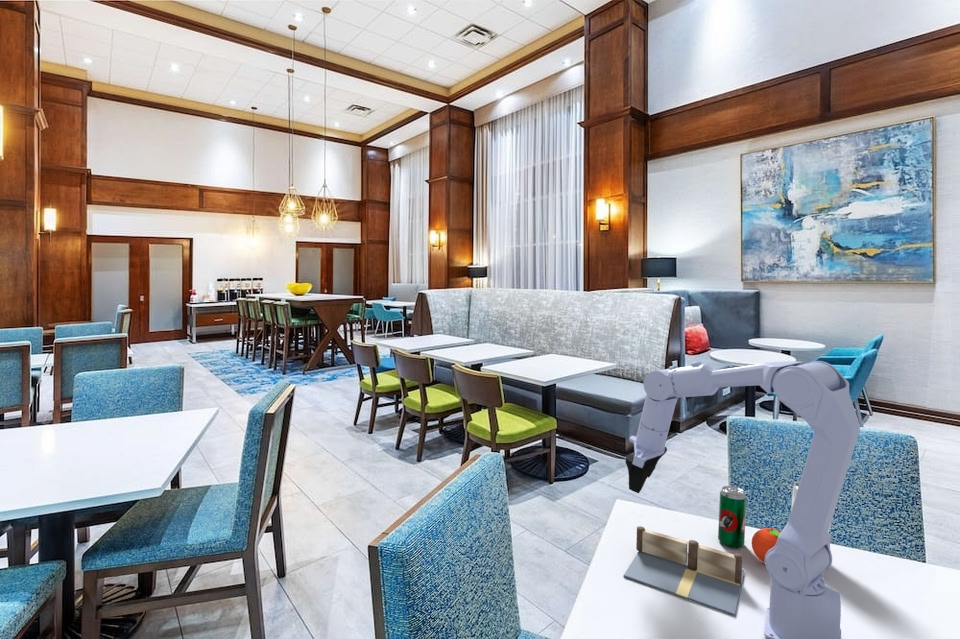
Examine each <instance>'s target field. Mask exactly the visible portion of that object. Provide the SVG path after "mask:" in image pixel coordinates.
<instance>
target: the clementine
mask: <svg viewBox="0 0 960 639" xmlns="http://www.w3.org/2000/svg"><path fill="white" fill-rule="evenodd" d="M780 534H781V531H779V530H777V529H774V528H770V527H765V528H761V529H758V530H757V531H756V532H755V533H754V534H753V536H752V538H751V548H752V551H753V553H754V555H755V556H756V557H757V559H759V560H760V561H761V562H762V563H763V564H765V555H766V553H767V552H768V550H770V549H771V548H773V547H774V546H775V545H776V543H777V539H778V537H779V535H780Z"/></svg>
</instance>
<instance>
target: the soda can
mask: <svg viewBox="0 0 960 639" xmlns="http://www.w3.org/2000/svg"><path fill="white" fill-rule="evenodd" d="M718 503H719V505H718V506H719V508H718V528H717V529H718V532H717V533H718V534H717V539H718V541H719V542H720V543H721V545H723V546H725V547H727V548H730V549H741V548H742V547H743V546H744V545H745V537H746V536H745V535H746V519H747V518H746V515H747V496H746V494H745V490H744V489H742V488H740V487H737V486H733V485H724V486H722V487H721V490H720V491H719V502H718Z"/></svg>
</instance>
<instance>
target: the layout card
mask: <svg viewBox="0 0 960 639" xmlns="http://www.w3.org/2000/svg"><path fill="white" fill-rule="evenodd" d="M637 551H638V550H637ZM744 574H745V569H743V568H742V582H741V584H737V583H735V582H732V581H729V580H726V579H723V578H719V577H716V576H713V575H710V574H707V573H704V572H700V571H697V570H696V571H694V570H690V569H689V568H688V552H687V563H686V565H683V564H680V563H677V562H674V561H670V560H667V559H664V558H661V557H658V556H655V555H651V554H648V553H645V552H640V551H638V552H637V553H636V555H635V556H634V557H633V559H632V561H631V563H630V564H629V565H628V568H627V569H626V571H625V572H624V573H623V577H624V578H626V579H629V580H631V581H634V582H637V583H640V584H642V585H645V586H649V587H651V588H654V589H657V590H660V591H662V592H665V593H668V594H671V595H673V596H677V597H680V598H682V599H684V600H685V599H686V600H687V601H690V602H693V603H696V604H700V605H702V606H704V607H705V606H706V607H708V608H710V609H712V610H716V611H719V612H723V613H725V614H728V615H731V616H733V617H735V615H736V612H737V611H736V610H737V606H738V601H739V599H740V598H739V597H740V593H741V588H742V583H743V580H744V579H743V578H744Z"/></svg>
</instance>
